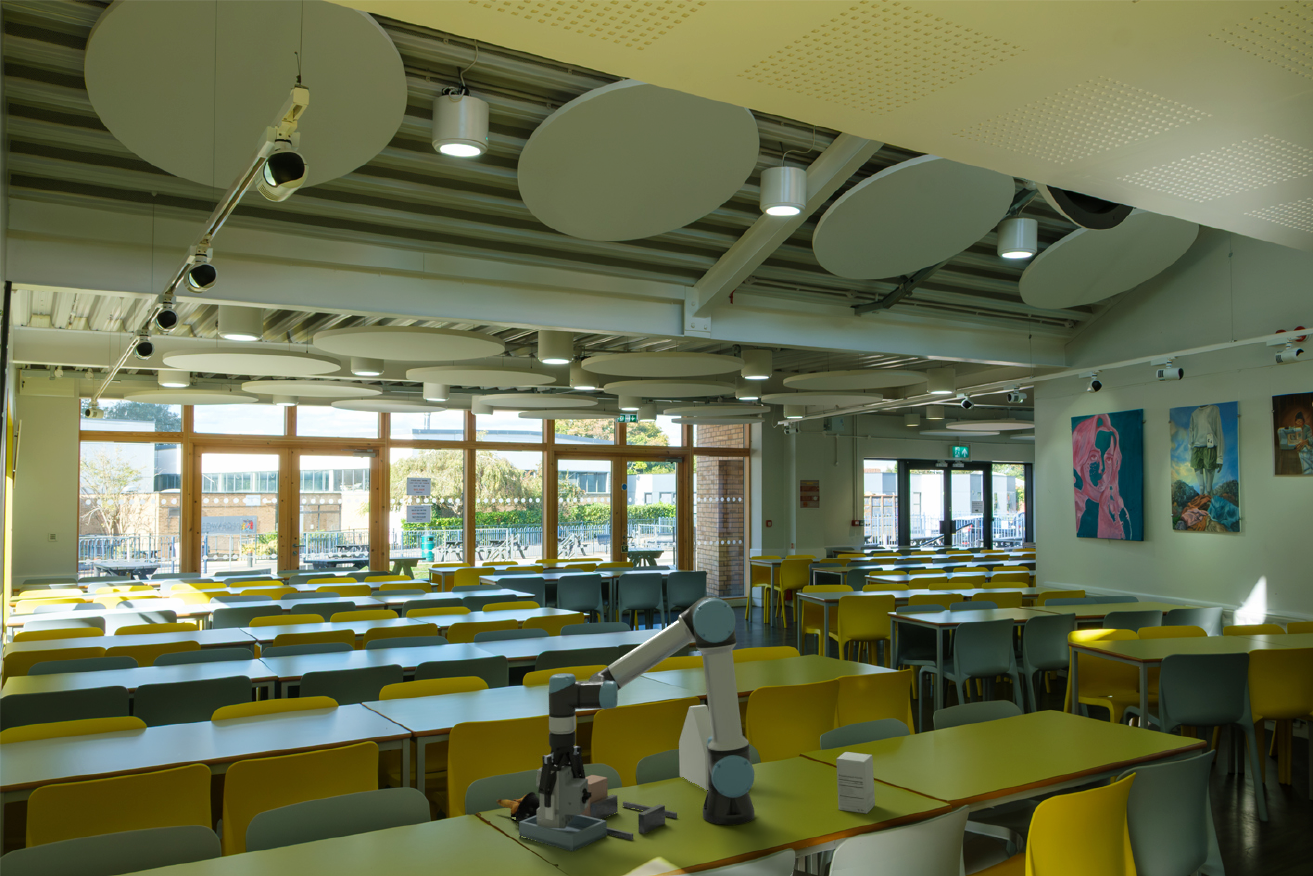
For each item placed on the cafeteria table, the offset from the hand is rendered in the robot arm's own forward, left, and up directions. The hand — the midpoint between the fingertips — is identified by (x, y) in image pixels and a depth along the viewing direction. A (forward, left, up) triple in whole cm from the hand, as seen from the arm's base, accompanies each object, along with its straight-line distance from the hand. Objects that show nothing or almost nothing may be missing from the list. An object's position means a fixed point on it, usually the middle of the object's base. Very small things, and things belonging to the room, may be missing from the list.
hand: (562, 814), depth 236 cm
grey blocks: (-8, -19, -6) cm, 21 cm away
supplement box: (-58, -67, -6) cm, 89 cm away
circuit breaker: (-1, 0, -3) cm, 3 cm away
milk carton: (-6, -68, -6) cm, 69 cm away
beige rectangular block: (+6, -19, -6) cm, 21 cm away
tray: (0, 0, -6) cm, 6 cm away
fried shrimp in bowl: (+21, -4, -6) cm, 22 cm away
